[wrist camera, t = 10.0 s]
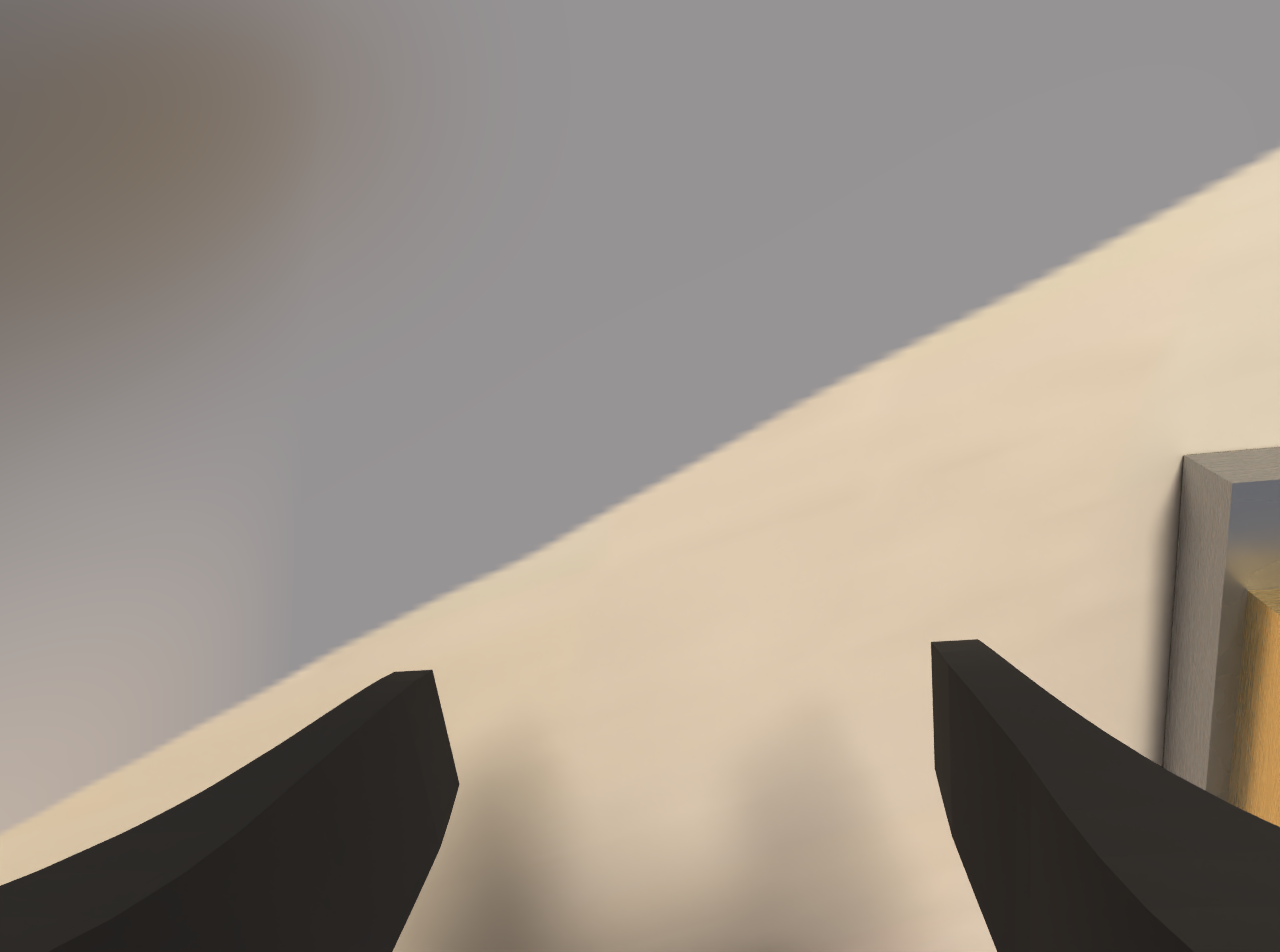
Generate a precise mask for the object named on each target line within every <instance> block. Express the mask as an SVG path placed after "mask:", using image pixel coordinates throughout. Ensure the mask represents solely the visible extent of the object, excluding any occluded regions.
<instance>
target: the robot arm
mask: <svg viewBox="0 0 1280 952" xmlns="http://www.w3.org/2000/svg"><path fill="white" fill-rule="evenodd" d="M931 656H932V689H933V722H934V755H935V771H936V775H937V779H938V783H939V787H940V791H941V795H942V799H943V803H944V807H945V811H946V815H947V818H948V822H949V826H950V830H951V834H952V837H953V840H954V842H955V845H956V848H957V850H958V853H959V855H960V858H961V861H962V863H963V866H964V868H965V871H966V873H967V876H968V879H969V881H970V884H971V886H972V889H973V891H974V894H975V896H976V899H977V901H978V904H979V907H980V909H981V912H982V914H983V917H984V919H985V922H986V924H987V927H988V929H989V932H990V934H991V937H992V939H993V942H994V944H995V947H996V950H997V952H1280V827H1279V826H1277V825H1274V824H1272V823H1270V822H1268V821H1265V820H1263V819H1261V818H1259V817H1257V816H1255V815H1253V814H1251V813H1249V812H1247V811H1244V810H1242V809H1240V808H1238V807H1236V806H1234V805H1232V804H1230V803H1228V802H1226V801H1224V800H1222V799H1220V798H1218V797H1217V796H1215V795H1213V794H1211V793H1209V792H1207V791H1205V790H1203V789H1202V788H1200V787H1198V786H1196V785H1194V784H1192V783H1190V782H1188V781H1186V780H1185V779H1183V778H1181V777H1179V776H1177V775H1175V774H1173V773H1172V772H1170V771H1168V770H1166V769H1165V768H1163V767H1161V766H1159V765H1158V764H1156V763H1154V762H1152V761H1151V760H1149V759H1147V758H1146V757H1144V756H1143V755H1141V754H1139V753H1138V752H1136V751H1135V750H1133V749H1131V748H1130V747H1128V746H1127V745H1125V744H1123V743H1122V742H1120V741H1119V740H1117V739H1115V738H1114V737H1112V736H1111V735H1109V734H1107V733H1106V732H1104V731H1103V730H1101V729H1100V728H1098V727H1097V726H1095V725H1094V724H1092V723H1091V722H1089V721H1088V720H1086V719H1085V718H1083V717H1082V716H1081V715H1079V714H1078V713H1076V712H1075V711H1073V710H1072V709H1071V708H1069V707H1068V706H1066V705H1065V704H1064V703H1062V702H1061V701H1059V700H1058V699H1057V698H1055V697H1054V696H1052V695H1051V694H1050V693H1048V692H1047V691H1046V690H1044V689H1043V688H1042V687H1040V686H1039V685H1038V684H1036V683H1035V682H1034V681H1032V680H1031V679H1030V678H1028V677H1027V676H1026V675H1024V674H1023V673H1022V672H1020V671H1019V670H1018V669H1016V668H1015V667H1014V666H1013V665H1011V664H1010V663H1009V662H1007V661H1006V660H1005V659H1004V658H1002V657H1001V656H1000V655H998V654H997V653H996V652H994V651H993V650H992V649H991V648H989V647H988V646H986V645H985V644H984V643H982V642H981V641H980V640H978V639H977V640H959V641H941V642H931ZM458 787H459V781H458V776H457V772H456V768H455V764H454V759H453V755H452V751H451V747H450V743H449V738H448V734H447V730H446V726H445V721H444V717H443V713H442V709H441V704H440V700H439V696H438V692H437V688H436V683H435V679H434V675H433V671H432V670H422V671H404V672H393V673H392V674H390V675H388V676H386V677H384V678H382V679H380V680H378V681H376V682H375V683H373V684H371V685H370V686H368V687H366V688H365V689H363V690H362V691H360V692H359V693H357V694H355V695H354V696H352V697H351V698H349V699H348V700H346V701H345V702H343V703H342V704H340V705H339V706H337V707H336V708H334V709H333V710H331V711H329V712H328V713H326V714H325V715H323V716H322V717H320V718H319V719H317V720H316V721H314V722H313V723H311V724H310V725H308V726H307V727H305V728H304V729H302V730H301V731H299V732H298V733H296V734H295V735H293V736H292V737H290V738H289V739H287V740H286V741H284V742H282V743H281V744H279V745H278V746H276V747H275V748H273V749H271V750H270V751H268V752H266V753H265V754H263V755H262V756H260V757H258V758H257V759H255V760H253V761H252V762H250V763H249V764H247V765H245V766H244V767H242V768H240V769H239V770H237V771H236V772H234V773H232V774H231V775H229V776H227V777H226V778H224V779H223V780H221V781H219V782H218V783H216V784H214V785H213V786H211V787H209V788H207V789H206V790H204V791H202V792H200V793H199V794H197V795H195V796H193V797H191V798H190V799H188V800H186V801H184V802H182V803H181V804H179V805H177V806H175V807H173V808H171V809H169V810H167V811H165V812H163V813H161V814H160V815H158V816H156V817H154V818H152V819H150V820H148V821H146V822H144V823H142V824H140V825H138V826H136V827H134V828H132V829H130V830H128V831H126V832H124V833H122V834H120V835H117V836H115V837H113V838H111V839H109V840H106V841H104V842H102V843H100V844H97V845H95V846H93V847H91V848H89V849H86V850H84V851H82V852H80V853H77V854H75V855H73V856H71V857H68V858H66V859H64V860H62V861H60V862H57V863H55V864H53V865H51V866H48V867H46V868H44V869H41V870H39V871H37V872H34V873H32V874H29V875H27V876H24V877H22V878H19V879H17V880H14V881H12V882H9V883H7V884H4V885H1V886H0V952H392V951H393V949H394V947H395V945H396V943H397V940H398V938H399V936H400V934H401V932H402V930H403V928H404V926H405V923H406V921H407V919H408V917H409V915H410V913H411V911H412V908H413V906H414V904H415V902H416V900H417V898H418V896H419V893H420V891H421V889H422V887H423V885H424V882H425V880H426V878H427V876H428V874H429V871H430V869H431V867H432V865H433V863H434V860H435V858H436V856H437V854H438V851H439V849H440V847H441V844H442V840H443V837H444V834H445V831H446V828H447V825H448V822H449V819H450V815H451V812H452V808H453V805H454V801H455V798H456V794H457V791H458Z"/></svg>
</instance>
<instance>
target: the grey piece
mask: <svg viewBox="0 0 1280 952" xmlns="http://www.w3.org/2000/svg"><path fill="white" fill-rule="evenodd" d="M1163 768H1165V769H1166V770H1168V771H1170V772H1172V773H1173V774H1175V775H1177V776H1179V777H1181V778H1183V779H1185V780H1186V781H1188V782H1190V783H1192V784H1194V785H1196V786H1198V787H1200V788H1202V789H1203V790H1205V791H1207V792H1209V793H1211V794H1213V795H1215V796H1217V797H1218V798H1220V799H1222V800H1224V801H1226V802H1228V803H1230V804H1232V805H1234V806H1236V807H1238V808H1240V809H1242V810H1244V811H1247V812H1249V813H1251V814H1253V815H1255V816H1257V817H1259V818H1261V819H1263V820H1265V821H1268V822H1270V823H1272V824H1274V825H1277V826H1279V827H1280V447H1274V448H1262V449H1250V450H1238V451H1227V452H1215V453H1203V454H1191V455H1184V463H1183V478H1182V492H1181V507H1180V522H1179V537H1178V551H1177V566H1176V581H1175V596H1174V610H1173V625H1172V640H1171V655H1170V669H1169V684H1168V699H1167V714H1166V728H1165V743H1164V758H1163Z"/></svg>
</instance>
